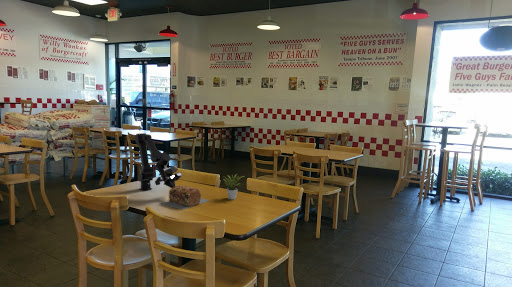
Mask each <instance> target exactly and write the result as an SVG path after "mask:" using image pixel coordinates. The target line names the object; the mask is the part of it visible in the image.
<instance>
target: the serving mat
mask: <svg viewBox="0 0 512 287" xmlns="http://www.w3.org/2000/svg"><path fill="white" fill-rule="evenodd" d="M200 199H201V200H200V203H199V204H197V205H193V206H184V205H182V204H178V203H175V202H171V201H170V200H169V201H166V202H161V205H164V206H167V207H170V208H174V209H178V210H181V211H183V210H186V209H188V208H191V207H195V206H198V205H201V204H204V203H207V202H209V201H210V199H205V198H202V197H201V198H200Z"/></svg>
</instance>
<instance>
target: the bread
mask: <svg viewBox="0 0 512 287" xmlns="http://www.w3.org/2000/svg"><path fill="white" fill-rule="evenodd" d="M201 196H202V194H201V191H200V190H199V189H198V188H197V187H191V186H186V185H175V187H173V188H170V190H169V191H168V198H169V201H171V202H175V203H178V204H182V205H184V206H192V207H194V206H193V205H195V206H198V205H200V204H199V203H200V200H201V199H202V197H201ZM200 198H201V199H200ZM197 204H198V205H197Z"/></svg>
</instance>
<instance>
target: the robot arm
mask: <svg viewBox="0 0 512 287" xmlns="http://www.w3.org/2000/svg"><path fill="white" fill-rule="evenodd" d="M134 140H135V144H137V146H138V148H139V149H138V150H139V156H140V163H141V164H140V165H141V168H140V171H139V175H138V176H137V181H138V182H140V187H139V188H138V190H141V191H143V192H144V191H150V190H152V189H153V188H152V187H151V181H154V169H157V171H158V173H159V174H158V175H159V176H158V177H157V178H156V179H155V181H154V184H155V186H159V185H161V183H163V185H165V186H166V187H169V188H170V189H172V188H173V187H175V186H176V182H177V181H179V179H180V178H182V176H183V175H182V173H181V172H178V171H179V169H178V167H177V166H176V165H174V166H172V167H170V168H169V167H167V166H168V164H169V163H170V162H171V160H172V157H171V155H170V154H167V152H162V151H161V150H159V149H158V148H157V146H156V144H155V142H154V140H153V138H152V135H150V134H147V133H143V132H142V133H136V134H135V135H134ZM148 151H149V153H150V156H148ZM149 158H150V161H151V162H152V163H154V169H153V167H151V165H150V161H149Z"/></svg>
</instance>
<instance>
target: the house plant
mask: <svg viewBox="0 0 512 287" xmlns="http://www.w3.org/2000/svg"><path fill="white" fill-rule="evenodd" d="M233 175H234V174H231V176H232V177H231V176H230V175H228V178H227V177H226V176H222V177H224V178H225V179H224V178H223V179H222V180H223V181H224V184H225V185H227V186H226V193H227V199H228V200H236V199H237V195H238V188H237V187H241V185H240V184H241V183H240V182H239V180H240V179H241V178H243V177H244V178H245V175H243V176H239V175H238V174H237V173H236V174H235V175H234V176H233ZM237 175H238V176H237ZM238 182H239V183H238Z"/></svg>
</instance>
